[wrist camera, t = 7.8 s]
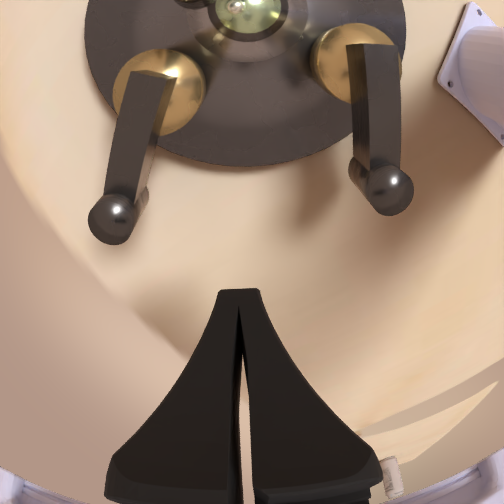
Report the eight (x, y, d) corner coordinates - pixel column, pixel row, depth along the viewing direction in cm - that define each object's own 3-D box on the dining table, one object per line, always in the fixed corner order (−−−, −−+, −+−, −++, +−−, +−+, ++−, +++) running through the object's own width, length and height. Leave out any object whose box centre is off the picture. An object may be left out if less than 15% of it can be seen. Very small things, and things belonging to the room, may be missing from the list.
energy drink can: (388, 460, 75) (396, 496, 62) (375, 463, 73) (383, 500, 61) (399, 454, 71) (408, 492, 59) (386, 457, 70) (395, 496, 58)
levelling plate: (431, -20, 10) (458, -25, 7) (325, 200, 19) (338, 222, 17) (162, -115, 5) (152, -135, 3) (63, 120, 15) (38, 132, 12)
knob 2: (304, 26, 12) (334, 11, 8) (381, 28, 12) (433, 23, 7) (320, 177, 17) (347, 221, 13) (386, 171, 17) (429, 210, 13)
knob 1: (139, 43, 12) (98, 38, 8) (218, 62, 13) (209, 60, 9) (104, 186, 17) (67, 231, 12) (169, 205, 18) (149, 256, 13)
